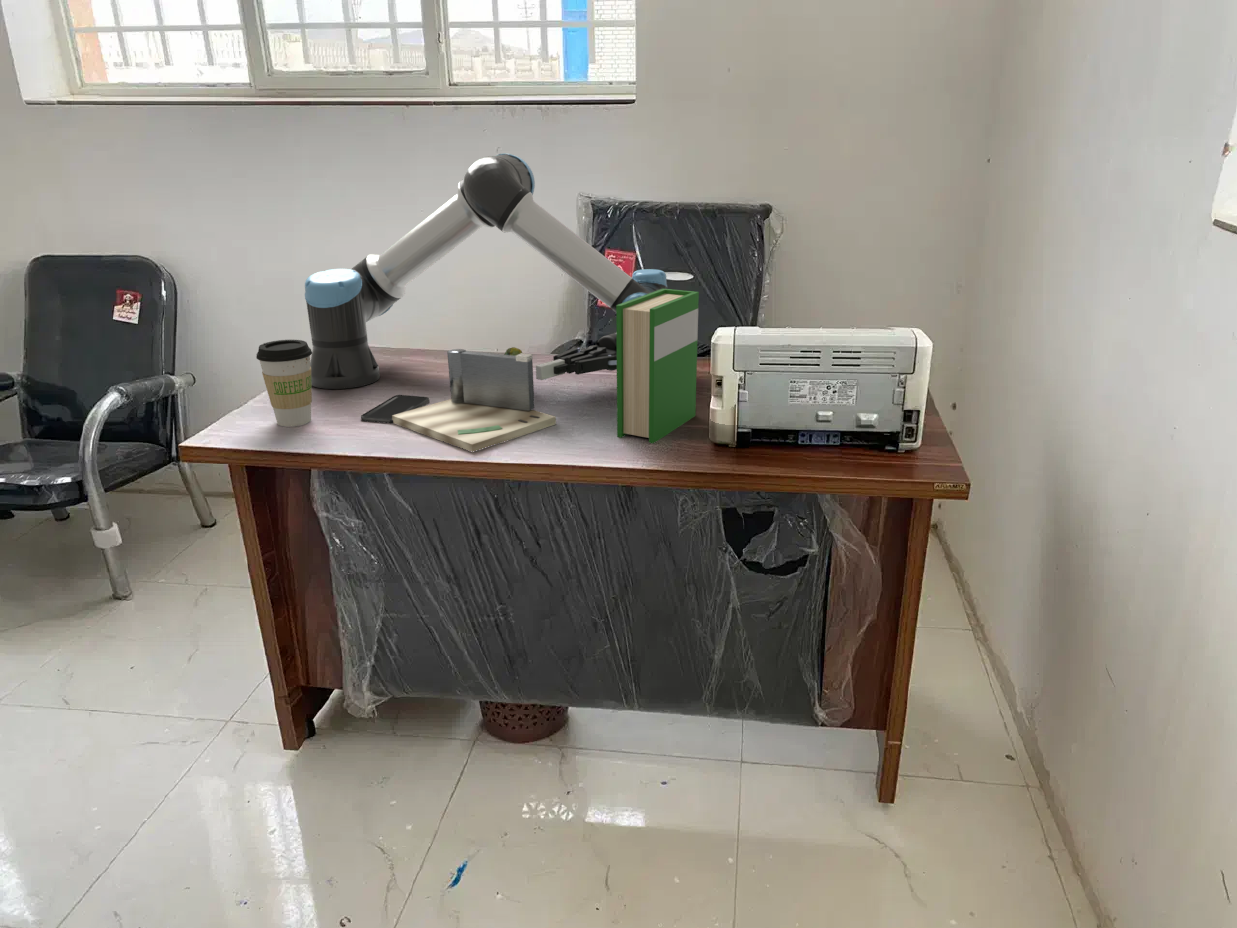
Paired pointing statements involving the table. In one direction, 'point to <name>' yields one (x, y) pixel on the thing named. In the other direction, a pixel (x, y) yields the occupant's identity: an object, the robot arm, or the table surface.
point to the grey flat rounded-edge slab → (491, 379)
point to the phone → (394, 408)
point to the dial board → (472, 423)
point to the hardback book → (656, 362)
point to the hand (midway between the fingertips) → (538, 372)
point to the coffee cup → (287, 380)
